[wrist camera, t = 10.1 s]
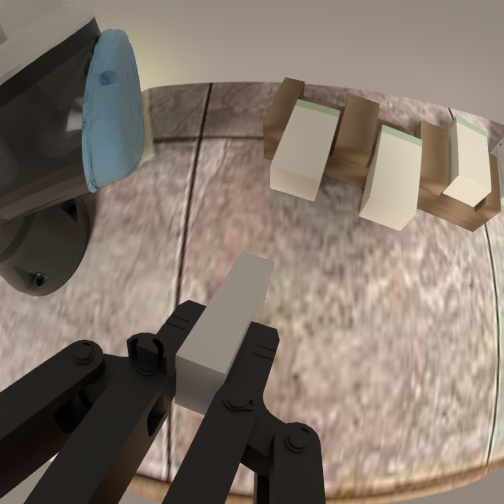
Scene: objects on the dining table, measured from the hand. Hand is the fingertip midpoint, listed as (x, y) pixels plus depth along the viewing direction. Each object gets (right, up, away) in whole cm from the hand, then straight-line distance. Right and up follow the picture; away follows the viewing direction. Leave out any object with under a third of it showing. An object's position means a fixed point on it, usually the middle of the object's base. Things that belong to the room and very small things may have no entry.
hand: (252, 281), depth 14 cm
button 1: (+24, +11, +16) cm, 31 cm away
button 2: (+5, +11, +17) cm, 21 cm away
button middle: (+14, +8, +16) cm, 22 cm away
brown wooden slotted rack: (+16, +12, +21) cm, 29 cm away
